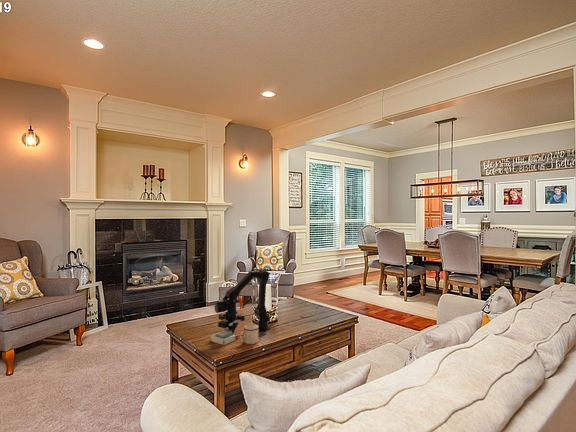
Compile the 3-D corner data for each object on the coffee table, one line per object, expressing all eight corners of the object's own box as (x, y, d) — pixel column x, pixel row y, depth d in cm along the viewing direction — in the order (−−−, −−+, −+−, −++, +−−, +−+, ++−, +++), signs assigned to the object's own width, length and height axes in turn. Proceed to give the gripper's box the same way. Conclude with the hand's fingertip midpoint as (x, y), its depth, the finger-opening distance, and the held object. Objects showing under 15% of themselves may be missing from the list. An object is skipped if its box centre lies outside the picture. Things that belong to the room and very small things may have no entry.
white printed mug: (254, 337, 206) (254, 319, 206) (261, 342, 199) (261, 323, 199) (236, 341, 200) (236, 322, 200) (243, 346, 192) (243, 326, 192)
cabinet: (225, 336, 208) (225, 328, 208) (232, 338, 205) (232, 330, 205) (216, 340, 202) (216, 332, 202) (222, 342, 198) (222, 334, 198)
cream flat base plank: (222, 336, 209) (222, 331, 209) (235, 339, 203) (235, 335, 203) (210, 341, 201) (210, 336, 201) (224, 345, 195) (224, 340, 195)
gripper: (232, 304, 220) (232, 327, 221) (211, 311, 205) (211, 336, 205) (245, 307, 214) (245, 331, 214) (224, 314, 199) (224, 340, 199)
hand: (231, 334), depth 208 cm, fingers closed
